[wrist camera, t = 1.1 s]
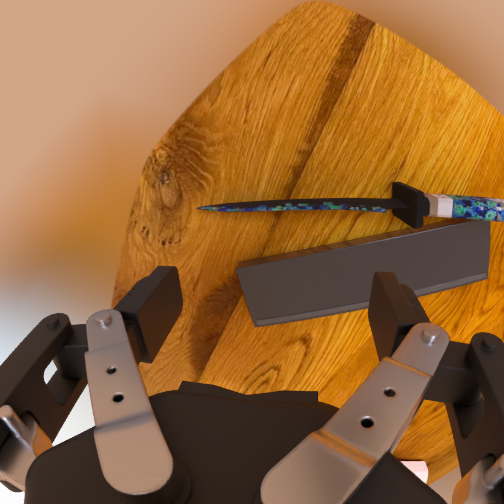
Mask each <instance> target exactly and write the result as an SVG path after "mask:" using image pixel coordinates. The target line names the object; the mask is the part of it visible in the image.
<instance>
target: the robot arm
mask: <svg viewBox="0 0 504 504" xmlns="http://www.w3.org/2000/svg"><path fill="white" fill-rule="evenodd" d="M182 306H183V299H182V293H181V287H180V281H179V274H178V270H177V268H176V267H175V266H157V267H156V269H155V270H154V271H153V272H152V273H151V274H150V275H149V276H147V277H145V278H143V279H142V280H140V281H138V282H137V283H136V284H135V285H134V286H133V287H132V290H130V291H129V292H128V293H127V295H125V296H124V297H123V299H122V300H121V301H120V302H119V303H118V304H117V305H116V306H115V308H114V309H113V310H112V309H108V310H102V311H99V312H97V313H95V314H93V315H92V316H90V317H89V318H88V320H87V322H86V324H78V325H71V323H70V320H69V317H68V316H67V315H66V314H63V313H56V314H52V315H50V316H47V317H46V318H44V319H43V320H42V321H41V322H40V323H39V324H38V325H37V326H36V327H35V328H34V329H33V330H32V331H31V332H30V333H29V334H28V335H27V337H26V338H25V339H24V340H23V341H22V342H21V343H20V344H19V345H18V346H17V348H16V349H15V350H14V351H13V352H12V353H11V354H10V355H9V357H8V358H7V359H6V360H5V361H4V362H3V364H2V365H1V366H0V482H1V483H2V484H3V485H5V486H6V487H7V488H8V489H9V490H11V491H13V492H22V491H24V492H25V499H24V504H447V503H446V501H445V500H444V499H443V498H442V497H441V496H440V495H439V494H437V493H436V492H435V491H434V490H433V489H431V488H430V487H429V486H428V485H427V484H426V483H424V482H423V481H422V480H421V479H420V478H419V477H418V476H416V475H415V474H414V473H413V472H412V471H411V470H410V469H408V468H407V467H406V466H405V465H404V464H403V463H402V462H401V461H399V460H398V459H397V458H396V457H395V456H394V455H393V454H392V453H393V451H394V450H395V448H396V447H397V445H398V443H399V442H400V440H401V438H402V437H403V435H404V434H405V432H406V430H407V429H408V427H409V425H410V424H411V422H412V421H413V419H414V417H415V415H416V414H417V412H418V410H419V409H420V407H421V405H422V403H423V401H424V399H425V400H431V401H437V402H444V403H445V406H446V409H447V413H448V417H449V421H450V425H451V429H452V433H453V437H454V442H455V446H456V451H457V456H458V461H459V466H460V471H461V477H462V479H461V480H460V481H459V482H458V484H457V485H456V486H455V488H454V491H453V495H452V504H504V343H503V341H502V340H501V339H500V338H498V337H497V336H495V335H493V334H490V333H485V332H481V333H477V334H475V335H474V336H473V337H472V339H471V342H470V344H466V343H459V342H454V341H450V340H449V335H448V333H447V332H446V331H445V330H444V329H443V328H442V327H440V326H438V325H435V324H432V323H431V322H430V321H429V319H428V317H427V315H426V313H425V311H424V309H423V307H422V306H421V304H420V302H419V300H417V296H416V294H415V293H414V291H413V290H412V289H411V288H409V287H408V286H407V285H406V284H399V282H398V280H397V278H396V276H395V274H394V272H375V273H374V276H373V282H372V288H371V295H370V301H369V308H368V318H369V323H370V327H371V330H372V334H373V338H374V342H375V346H376V350H377V354H378V358H379V362H380V363H379V364H378V365H377V366H376V368H375V369H374V370H373V371H372V372H371V374H370V375H369V376H368V377H367V378H366V380H365V381H364V382H363V383H362V384H361V386H360V387H359V388H358V389H357V390H356V391H355V393H354V394H353V395H352V396H351V397H350V398H349V399H348V400H347V402H346V403H345V404H344V405H343V406H342V407H341V408H340V409H339V408H337V407H335V406H332V405H330V404H326V403H323V402H319V401H318V391H285V390H283V391H276V392H268V393H260V394H252V395H245V394H241V393H238V392H235V391H231V390H228V389H225V388H222V387H219V386H216V385H211V384H203V383H195V382H188V381H182V383H181V385H180V387H179V390H172V391H166V392H162V393H158V394H155V395H152V396H150V397H149V395H148V392H147V390H146V387H145V384H144V381H143V379H142V376H141V373H140V370H139V367H138V365H139V363H140V362H145V363H151V364H152V362H153V361H154V359H155V357H156V355H157V354H158V352H159V350H160V348H161V347H162V345H163V343H164V341H165V340H166V338H167V336H168V334H169V333H170V331H171V329H172V327H173V326H174V324H175V322H176V320H177V319H178V317H179V315H180V314H181V311H182ZM52 360H53V362H54V364H55V365H56V367H57V371H56V372H55V374H54V375H53V376H52V378H51V379H50V381H49V382H48V383H47V385H46V383H45V381H44V371H45V369H46V368H47V366H48V365H49V364H50V362H51V361H52ZM87 384H88V386H89V392H90V398H91V404H92V410H93V415H94V421H95V426H94V427H92V428H90V429H88V430H86V431H84V432H82V433H80V434H78V435H76V436H74V437H72V438H70V439H68V440H66V441H64V442H62V443H60V444H58V445H56V446H54V447H53V446H52V443H53V441H54V440H55V438H56V436H57V434H58V432H59V431H60V429H61V427H62V426H63V424H64V422H65V420H66V419H67V417H68V415H69V414H70V412H71V410H72V408H73V407H74V405H75V403H76V402H77V400H78V398H79V397H80V395H81V394H82V392H83V390H84V389H85V387H86V385H87ZM482 396H483V397H482ZM483 399H484V400H483Z"/></svg>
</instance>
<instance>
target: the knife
mask: <svg viewBox="0 0 504 504" xmlns="http://www.w3.org/2000/svg"><path fill="white" fill-rule="evenodd" d="M196 209H202V210H211V211H223V212H248V211H279V210H360V211H372V212H383V213H386V211H387V210H388V209H392V213H393V215H394V216H396V217H397V218H399V219H400V220H402V221H403V222H405V223H406V224H408V225H409V226H411V227H412V228H414V229H419V228H422V226H423V217H426V216H432V217H448V218H462V219H475V220H487V221H499V222H504V200H502V199H497V198H486V197H473V196H459V195H443V194H424V193H423V192H422V191H420V190H418V189H415V188H413V187H411V186H408V185H406V184H403V183H401V182H394V183H393V195H392V199H375V198H321V199H290V200H269V201H252V202H238V203H225V204H217V205H209V206H202V207H198V208H196Z"/></svg>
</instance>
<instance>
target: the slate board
mask: <svg viewBox="0 0 504 504" xmlns="http://www.w3.org/2000/svg"><path fill="white" fill-rule="evenodd" d="M489 253H490V221H487V220H475V219H462V218H456V219H451V220H446V221H441V222H436V223H432V224H427V225H423V226H422V228H419V229H414V228H407V229H403V230H398V231H393V232H388V233H383V234H378V235H373V236H368V237H363V238H359V239H354V240H349V241H344V242H339V243H334V244H329V245H324V246H319V247H314V248H309V249H304V250H299V251H294V252H289V253H284V254H279V255H274V256H269V257H263V258H258V259H253V260H248V261H243V262H238V264H237V267H236V272H237V275H238V278H239V281H240V284H241V287H242V290H243V293H244V296H245V299H246V302H247V305H248V308H249V311H250V314H251V317H252V320H253V323H254V326H255V327H261V326H268V325H275V324H282V323H288V322H295V321H301V320H307V319H313V318H318V317H324V316H330V315H335V314H341V313H346V312H351V311H356V310H361V309H366V308H369V301H370V295H371V288H372V282H373V276H374V273H375V272H394V274H395V276H396V278H397V280H398V282H399V284H406V285H407V286H408V287H409V288H411V289H412V290H413V291H414V293H415V294H416V296H417V297H420V296H425V295H429V294H433V293H437V292H441V291H445V290H449V289H452V288H456V287H460V286H464V285H467V284H471V283H475V282H478V281H482V280H485V279H488V269H489Z"/></svg>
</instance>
